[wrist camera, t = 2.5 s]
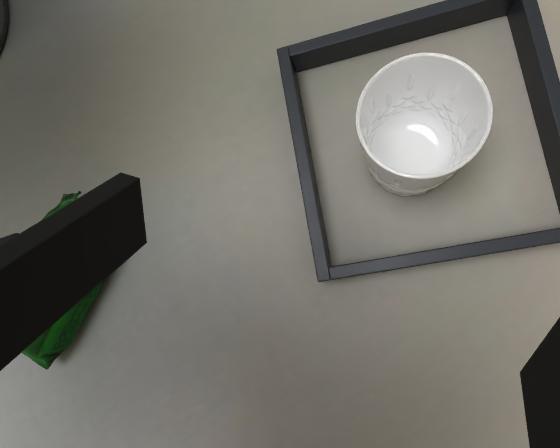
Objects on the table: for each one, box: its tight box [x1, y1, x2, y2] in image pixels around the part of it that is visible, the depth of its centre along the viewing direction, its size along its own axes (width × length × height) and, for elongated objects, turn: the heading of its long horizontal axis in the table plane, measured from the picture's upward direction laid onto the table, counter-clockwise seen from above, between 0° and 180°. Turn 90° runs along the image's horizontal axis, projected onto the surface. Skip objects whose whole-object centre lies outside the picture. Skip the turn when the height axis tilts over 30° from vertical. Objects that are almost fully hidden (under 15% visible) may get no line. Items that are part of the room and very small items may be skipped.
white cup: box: [356, 52, 493, 196], centre depth 29 cm, size 8×8×10 cm
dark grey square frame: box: [277, 0, 560, 282], centre depth 33 cm, size 20×20×3 cm
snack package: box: [21, 191, 104, 369], centre depth 38 cm, size 7×16×5 cm, turn 151°
